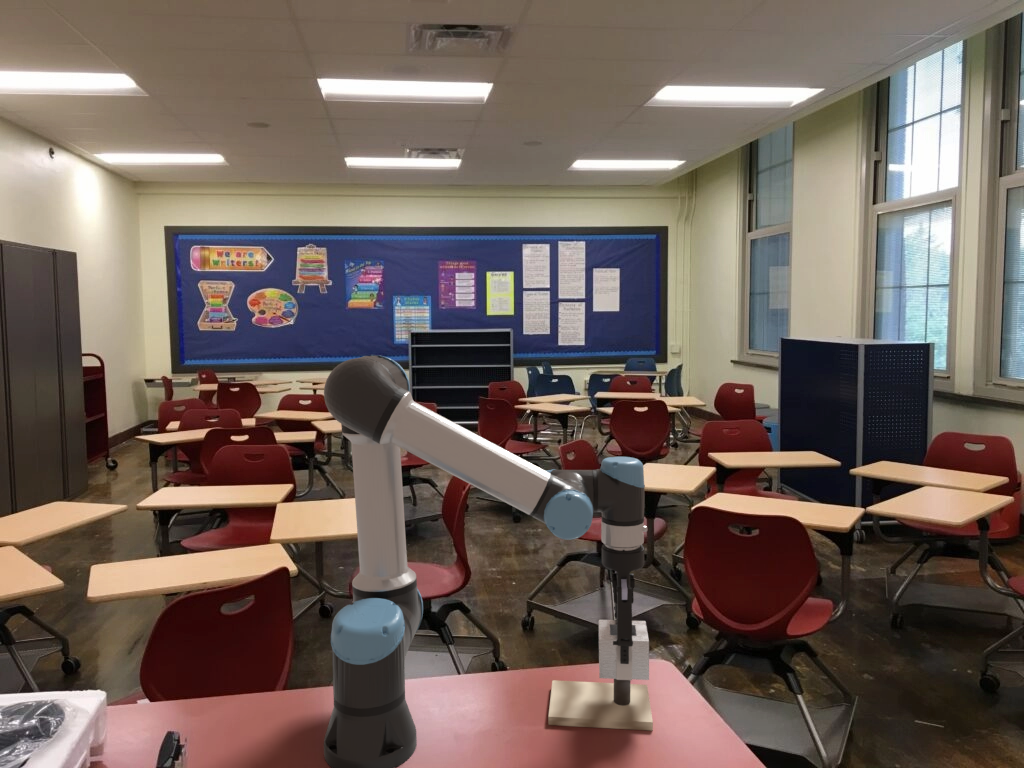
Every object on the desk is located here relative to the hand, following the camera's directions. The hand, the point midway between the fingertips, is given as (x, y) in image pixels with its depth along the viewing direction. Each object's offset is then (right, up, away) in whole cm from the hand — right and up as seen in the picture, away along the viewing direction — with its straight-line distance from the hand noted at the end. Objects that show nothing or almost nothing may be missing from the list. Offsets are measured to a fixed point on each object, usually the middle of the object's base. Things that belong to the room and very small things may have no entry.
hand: (623, 666), depth 131 cm
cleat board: (-4, -8, +1) cm, 9 cm away
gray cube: (0, 0, 0) cm, 0 cm away
